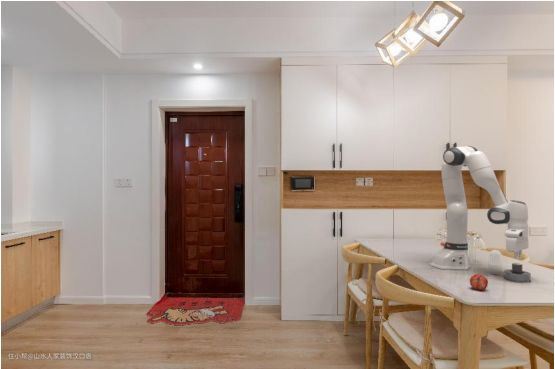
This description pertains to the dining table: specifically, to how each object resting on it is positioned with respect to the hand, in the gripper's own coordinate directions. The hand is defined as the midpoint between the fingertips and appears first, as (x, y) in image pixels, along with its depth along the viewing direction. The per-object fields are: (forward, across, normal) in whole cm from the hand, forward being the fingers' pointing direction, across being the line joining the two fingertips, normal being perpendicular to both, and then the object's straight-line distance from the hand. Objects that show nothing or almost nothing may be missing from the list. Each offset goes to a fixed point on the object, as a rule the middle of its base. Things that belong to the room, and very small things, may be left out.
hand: (517, 258), depth 188 cm
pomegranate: (+11, +34, -5) cm, 37 cm away
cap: (+11, 0, 0) cm, 11 cm away
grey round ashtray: (+11, 0, 0) cm, 11 cm away
